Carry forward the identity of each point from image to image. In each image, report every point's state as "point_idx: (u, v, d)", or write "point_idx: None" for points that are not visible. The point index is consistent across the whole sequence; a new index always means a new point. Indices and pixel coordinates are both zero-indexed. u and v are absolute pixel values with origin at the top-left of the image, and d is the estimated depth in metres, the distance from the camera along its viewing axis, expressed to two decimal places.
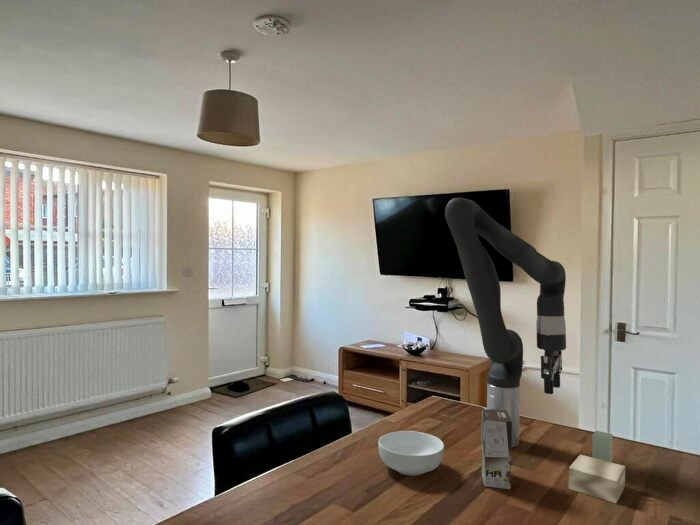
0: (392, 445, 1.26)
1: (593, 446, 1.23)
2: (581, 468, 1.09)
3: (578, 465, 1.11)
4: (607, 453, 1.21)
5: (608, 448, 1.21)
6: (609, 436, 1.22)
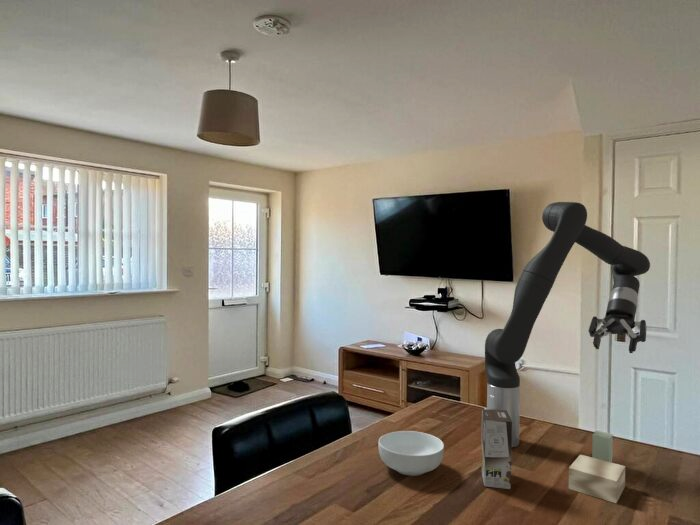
0: (392, 445, 1.26)
1: (593, 446, 1.23)
2: (581, 468, 1.09)
3: (578, 465, 1.11)
4: (607, 453, 1.21)
5: (608, 448, 1.21)
6: (609, 436, 1.22)
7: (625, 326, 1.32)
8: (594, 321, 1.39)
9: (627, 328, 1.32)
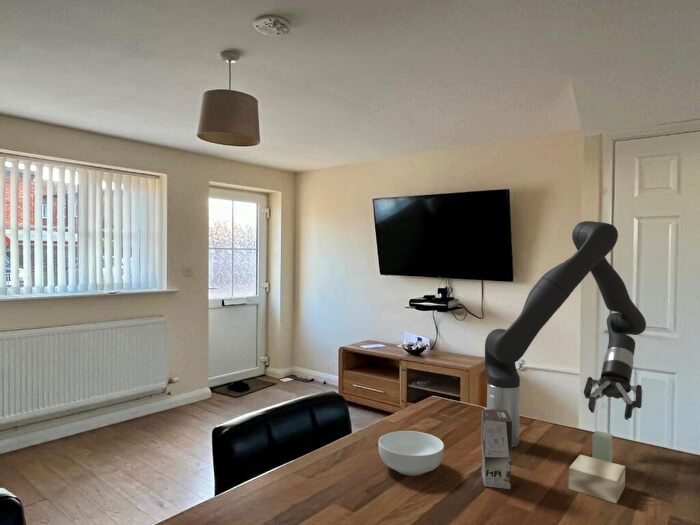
0: (392, 445, 1.26)
1: (592, 446, 1.23)
2: (581, 468, 1.09)
3: (578, 465, 1.11)
4: (607, 453, 1.21)
5: (608, 448, 1.21)
6: (609, 436, 1.22)
7: (621, 390, 1.30)
8: (589, 382, 1.37)
9: (623, 393, 1.29)
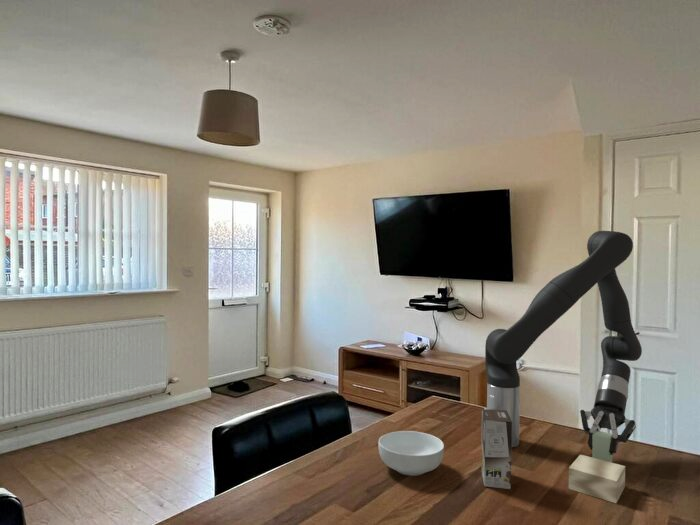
0: (392, 445, 1.26)
1: (593, 446, 1.23)
2: (581, 468, 1.09)
3: (578, 465, 1.11)
4: (607, 453, 1.21)
5: (608, 448, 1.21)
6: (609, 436, 1.22)
7: (611, 422, 1.24)
8: (584, 415, 1.29)
9: (612, 425, 1.24)
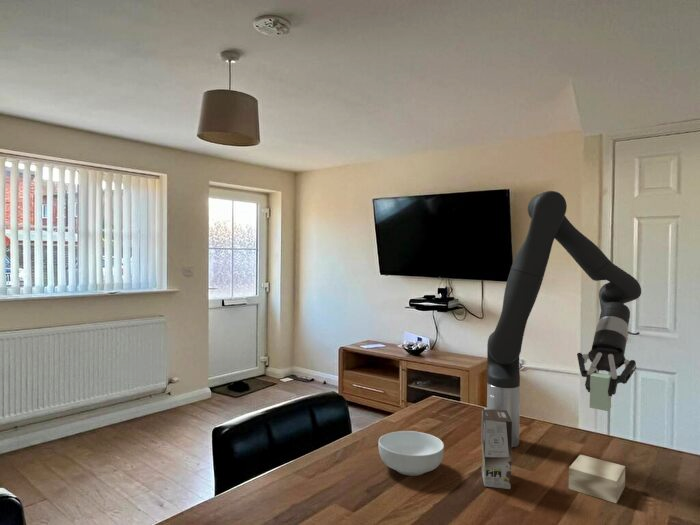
0: (392, 445, 1.26)
1: (590, 387, 1.15)
2: (581, 468, 1.09)
3: (578, 465, 1.11)
4: (606, 394, 1.13)
5: (607, 389, 1.13)
6: (608, 376, 1.14)
7: (610, 363, 1.16)
8: (581, 358, 1.21)
9: (611, 366, 1.16)
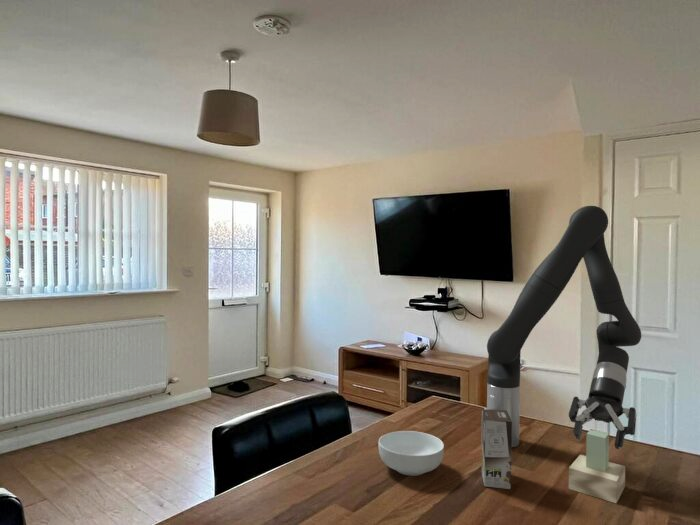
0: (392, 445, 1.26)
1: (587, 446, 1.10)
2: (581, 468, 1.09)
3: (578, 465, 1.11)
4: (603, 454, 1.08)
5: (604, 449, 1.08)
6: (605, 435, 1.09)
7: (611, 414, 1.11)
8: (575, 403, 1.18)
9: (613, 417, 1.11)
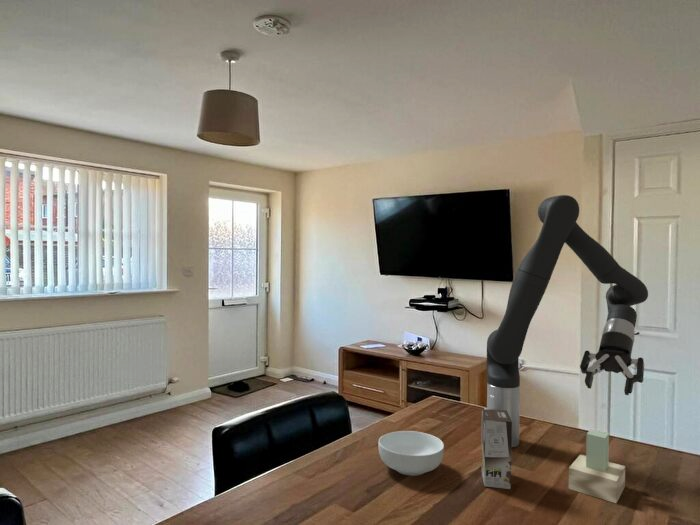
0: (392, 445, 1.26)
1: (587, 446, 1.10)
2: (581, 468, 1.09)
3: (578, 465, 1.11)
4: (603, 454, 1.08)
5: (604, 449, 1.08)
6: (605, 435, 1.09)
7: (621, 364, 1.19)
8: (586, 356, 1.25)
9: (623, 366, 1.18)
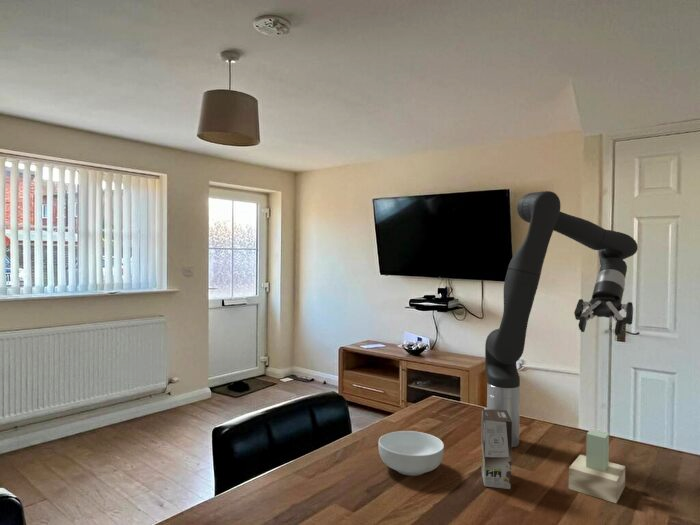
0: (392, 445, 1.26)
1: (587, 446, 1.10)
2: (581, 468, 1.09)
3: (578, 465, 1.11)
4: (603, 454, 1.08)
5: (604, 449, 1.08)
6: (605, 435, 1.09)
7: (611, 308, 1.28)
8: (580, 304, 1.35)
9: (613, 310, 1.28)
